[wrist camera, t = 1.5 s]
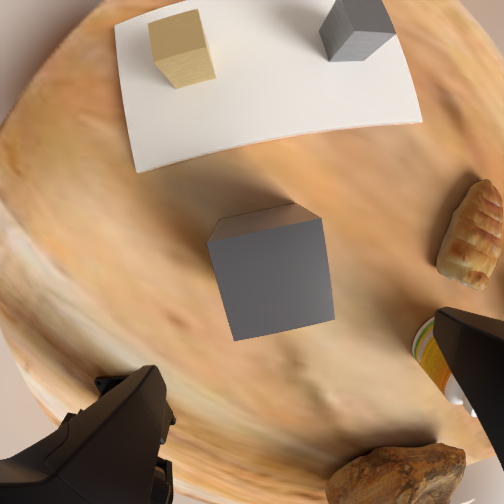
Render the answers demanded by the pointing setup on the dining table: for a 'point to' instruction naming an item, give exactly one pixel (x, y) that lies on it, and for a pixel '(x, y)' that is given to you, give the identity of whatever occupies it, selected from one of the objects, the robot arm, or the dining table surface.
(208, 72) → the pale wooden block
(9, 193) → the dining table surface
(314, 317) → the dark gray block
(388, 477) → the rough brown rock
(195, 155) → the board
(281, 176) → the dining table surface
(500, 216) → the pastry
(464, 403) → the supplement bottle
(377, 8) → the steel post
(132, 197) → the dining table surface
